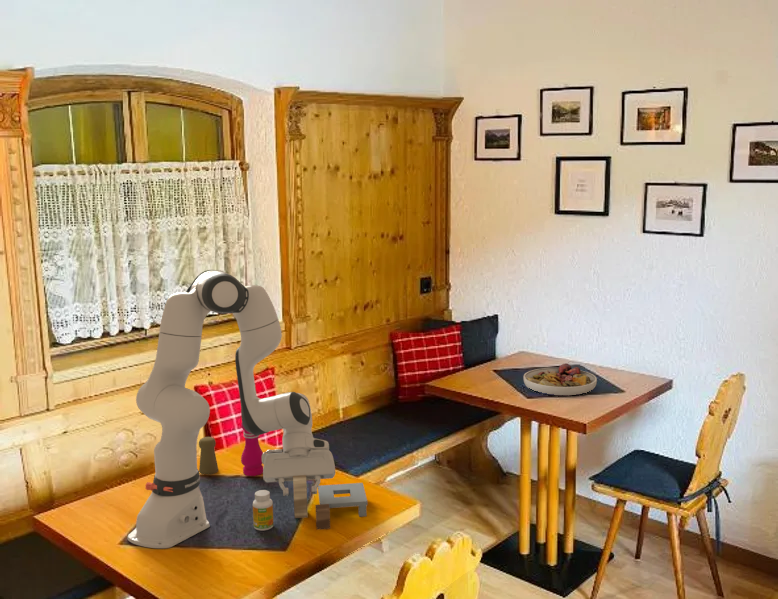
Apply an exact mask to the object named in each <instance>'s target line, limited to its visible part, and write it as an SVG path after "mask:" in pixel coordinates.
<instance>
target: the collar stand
mask: <svg viewBox="0 0 778 599" xmlns="http://www.w3.org/2000/svg"><path fill="white" fill-rule="evenodd" d="M365 490H366V489H365V487H364V484H363V482H356V483H342V484H341V483H339V484H326V485H325V484H324V485H322V484H321V485H319V486H318V487H317V494H318V502H319V505H321V504H329V508H330V509H333V508H337V509H338V508H349V507H350V508H351V507H358V516H359V517H367V506H368V499H367V498H368V497H367V495H366V491H365ZM343 494H344V495H345V494H346V495H347V494H349V496H335V495H343Z"/></svg>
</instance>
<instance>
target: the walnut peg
mask: <svg viewBox="0 0 778 599" xmlns="http://www.w3.org/2000/svg"><path fill="white" fill-rule="evenodd" d="M330 509H331V508H329V504H321V505H320V504H315V523H316V531H317V530H330V529H331V510H330Z"/></svg>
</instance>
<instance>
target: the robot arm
mask: <svg viewBox="0 0 778 599" xmlns="http://www.w3.org/2000/svg"><path fill="white" fill-rule="evenodd" d="M166 299H167V300H166V302H165V305H164V308H163V311H162V316H161V319H160V326H159V333H158V341H157V349H156V357H155V361H154V363H153V367H152V370H151V372H150V374H149V377H148V379H147V380H146V382H144V383H143V384H141V386H140V387H139V389H138V391H137V393H136V398H135V401H136V405H137V409H139V410H140V411H141V412H142V413H143V414H144V415H145V416H146V417H147V418H148V419H150V420H153V421H155V422H157V423H160V425H161V428H162V429H161V435H160V440H159V442H157V443H156V444H155V446H154V449H153V455H154V467H155V468H154V469H155V474H154V476H153V480H152V482H146V484H145V486H144V488H145V490H147V491H151V493H150V495H149V496H148V498H147V500H146V501H145V503H144V504H143V506H142V508H141V509H140V511H139V512H138V514H137V516H136V524H135V525H136V527H135V528H134V529H133V530H132V531H131V532H130V533H129V534H128V535H127V539H126V540H128V542H130V543H131V544H132V545H136V546H139V547H140V546H141V547H145V548H152V549H169V548H172V547H174V546H175V545H178V544H179V543H181V542H183V541H186V540H187V539H189V538H190V537H193V536H195V535H196V534H198V533H200V532H202V531H204V530H207V529H208V528H210V526H211V525H210V522H209V520H208V519H207V514H206V507H205V502H204V497H203V494H202V492H201V489H200V483H201V480H200V479H201V475H200V473H199V469H198V456H197V454H198V453H197V444H198V437H199V434H200V431H201V429H202V428H203V427H205V425H206V424H207V422H208V420H209V417H210V413H211V409H210V408H211V407H210V405H209V402H208V400H206V398H204V397H203V396H202V395H201V394H200V393H198V392H197V391H196V390H193V389H190V388H188V387H187V388H186V383H187V380H188V377H189V375H190V373H191V371H193V370H194V369H195V368H196V367H197V366H198V365H199V362H200V354H201V351H200V350H201V344H202V336H203V324H204V323H205V322H204V321H205V319H206V317H207V315H208V314H210V312H212V313H213V312H214V313H217V314H222V315H224V314H232V315H233V317H234V318H235V320H236V323H237V326H238V329H239V333H240V345H239V347H238V348H237V349H236V351H235V356H234V358H235V359H234V361H235V371H236V378H237V386H238V392H239V394H238V395H239V400H240V411H241V412H240V414H241V416H240V417H241V423H242V424H243V427H244V429H245V430H246V431H248V432H249V433H251V434H253V435H255V436H258V435H259V436H260V435H264V434H268V433H270V432H274V431H278V430H282V431H283V434H282V438H281V439H282V440H281V442H282V448H277V449H267V450H266V451H264V452H263V454H262V465H263V473H262V478H263V481H264V482H265V483H278V486H279V487H280V489H281V490H282V493H283V494H282V495H283V497H286V496H287V497H288V496H289V492H290V491H289V487H286V486H285V482H293V476H300V475H306V481H309V480H310V481H311V480H314V481H315V484H314V485H312V486H311V494H312V495H317V494H318V486H320V483H321V480H324V479H325V480H326V479H333V478H334V477H335V475H336V466H335V461H334V460H335V459H334V456H333V453H332V452H331V451H330V444H329V441H327V440H324V439H319V438H315V437H314V434H313V433H312V427H313V416H312V409H311V405H310V401H309V398H308V397H307V396H306V395H305V394H303V393H299V392H296V391H290V392H288V391H287V392H283V393H279V394H276V395H272V396H267V397H264V398H260V397H258V395H257V390H256V383H255V377H254V376H255V375H254V370H255V366H257V364H258V363H260V362H261V361H263V360H264V359H265V358H267V357H268V356H270V355H272V353H273V352H275V350H276V349H277V348H278V347H279V345H280V344H281V340H282V338H283V334H282V328H281V323H280V320H279V317H278V315H277V312H276V309H275V306H274V304H273V301H272V300H271V298H270V296H269V294H268V292H267V290H266V289H265V287H262V286H261V285H258V284H249V285H245V286H244V285H243V283H241V282H240V281H239V280H238V278H236V277H235V276H233V275H232V274H229V273H227V272H225V271H224V270H219V269H218V270H217V269H207V270H205V271H202V272H200V273H199V274H198V275H197V276H196V277H195V278H194V280H193V281H192V282H191V284H190V285H189V287H188V288H187V289H186V290H185V291H180V292H175V293H173V294H170V296H169V297H168V298H166ZM259 436H258V437H259Z"/></svg>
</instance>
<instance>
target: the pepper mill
mask: <svg viewBox="0 0 778 599" xmlns="http://www.w3.org/2000/svg"><path fill="white" fill-rule="evenodd" d="M240 425H241V429H242V430H243V432H242V433H243V437H244V441H245V442H244V444H245V445H244V449H243V451H242V454H241V458H240V461H241V464H242V465H243V468H242V473H243V475H244V474H245V475H244V476H247V477H257V476H260V475H263V467H264V465H263V463H262V454H263V453H264V452H263V450H262V449H261V446H260V443H259V437H260V435H258V436H255V435H253V434H251V433H249V432H248V431H246V430H245V429H244V427H243V424H242V422H241V424H240ZM256 475H257V476H256Z"/></svg>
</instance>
